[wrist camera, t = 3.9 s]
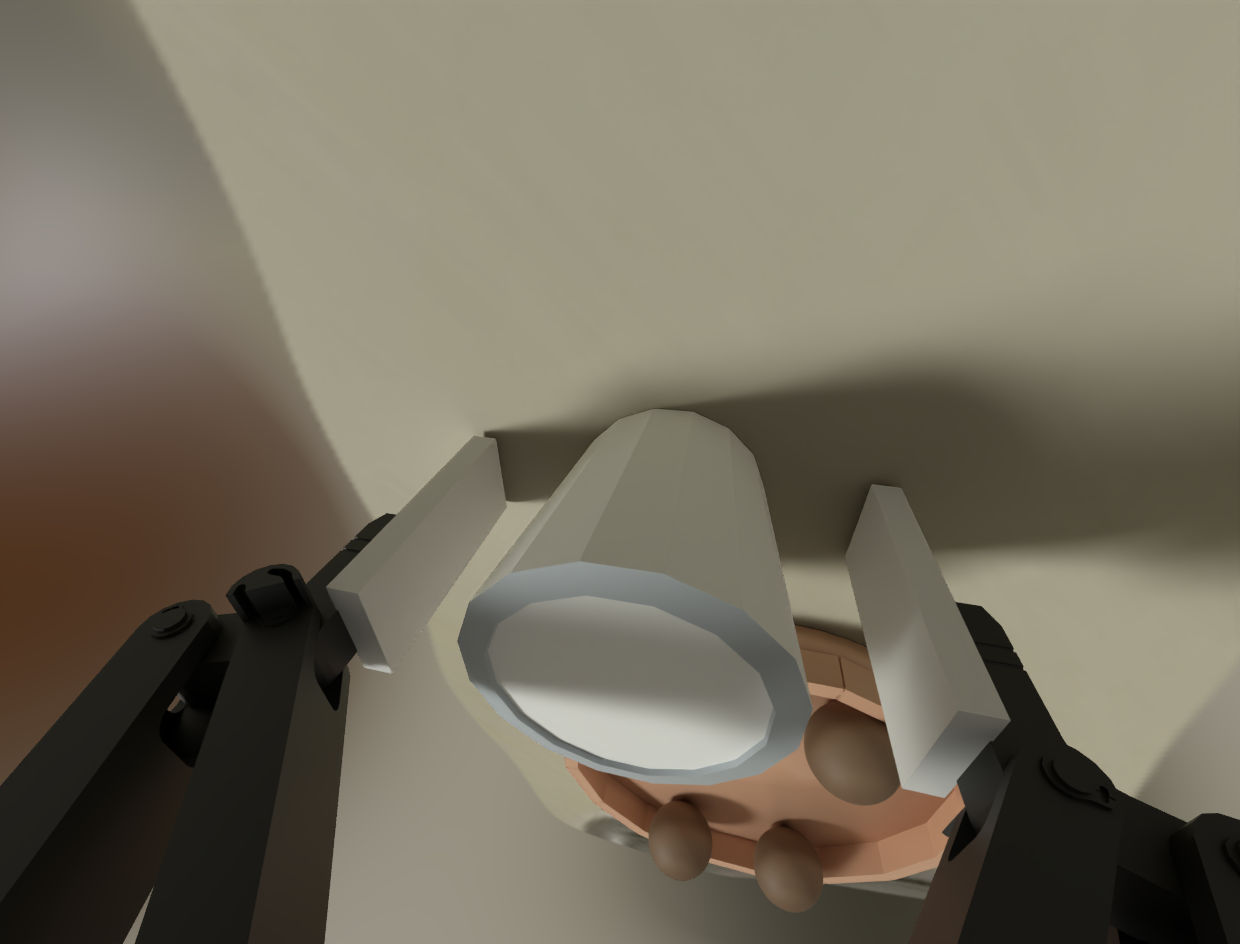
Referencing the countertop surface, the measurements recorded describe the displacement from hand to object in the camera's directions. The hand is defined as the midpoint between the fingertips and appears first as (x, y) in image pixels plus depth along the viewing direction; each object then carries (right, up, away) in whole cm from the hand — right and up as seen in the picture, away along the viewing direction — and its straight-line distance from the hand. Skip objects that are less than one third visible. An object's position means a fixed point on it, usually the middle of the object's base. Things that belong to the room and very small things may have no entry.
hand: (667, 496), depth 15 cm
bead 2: (+6, -17, +7) cm, 20 cm away
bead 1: (+1, -17, +8) cm, 18 cm away
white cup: (0, 0, 0) cm, 0 cm away
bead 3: (+6, -9, +1) cm, 11 cm away
